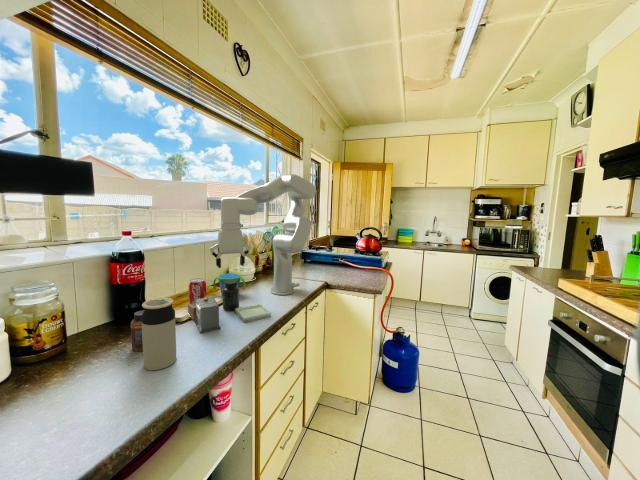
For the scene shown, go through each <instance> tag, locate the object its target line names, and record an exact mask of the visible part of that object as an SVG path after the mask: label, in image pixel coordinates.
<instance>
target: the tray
mask: <svg viewBox="0 0 640 480" xmlns="http://www.w3.org/2000/svg"><path fill="white" fill-rule="evenodd" d="M235 314H236V315H237V316H238V318H239V319H240V320H241V321H242V322H243V323H249V322H253V321H259V320H262V319H267V317H268V318H271V317H272V316H271V315H272V314H271V312H270V310H268V309H267V308H266V307H265V306H264V305H263V304H262V303H258V304H252V305H247V306H241V307H240V306H239V308H236V310H235Z"/></svg>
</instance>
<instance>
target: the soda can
mask: <svg viewBox="0 0 640 480" xmlns="http://www.w3.org/2000/svg"><path fill="white" fill-rule="evenodd" d="M205 297H207V282H206V280H205V279H204V278H201V277H199V278H192V279H190V280H189V284H188V305H189V304H193V303H196V299H201V298H205Z"/></svg>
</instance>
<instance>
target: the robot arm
mask: <svg viewBox="0 0 640 480" xmlns="http://www.w3.org/2000/svg"><path fill="white" fill-rule="evenodd" d="M316 192H317V190H316V186H315V185H314V183H312V182H311V181H309V180H307V179H306V178H303V177H302V176H300V175H297V174H281V175H278V176H277V177H275V178H273V179H271V180H270V181H268V182H266V183H265V184H262V185H260V186H256V187H255V188H251V189H248V190H247V191H244V192H242V193H240V194H239V195H236V196H235V197H227V196H225V197H222V198H221V200H220V225H221V226H220V227H221V228H220V229H219V230H218V235H217V243H216V244H214V245H212V246H210V247H209V248H208V251H209V252H210V253H211V255H212V256H213V257H214V258H215V265H216V267H217V268H219V269H221V268H222V259H221V257H222V256H223V255H230V254H240V255H239V265H240V266H242V267H244V266H245V263H246V262H245V261H246V256H247V254H249V252H250V250H251V248H252V246H251V245H249V244H246V243H244V239H243V238H244V237H243V232H242V229H241V228H243V227H244V224H243V223H241V215H243V216H254V215H255V214H257V212H258V211H259V208H260V207H259V206H260V204H265V203H270V202H273V201H274V200H276V199H278V198H279V197H280V196H281V197H282V195H284V194H285V193H287V195H288V198H289V203H290V205H289V208H288V212H287V214H286V216H285V218H284V221H283V223H282V229H283V230H284V231H285V232H279V233H277V234H275V236H274V237H273V239H272V249H273V258H274V259H273V261H274V262H273V287H272V288H270V293H271V294H273V295H276V296H277V295H278V296H286V295H291V294H294V292H295V288H296V287H297V288H299V287H300V282H293V281H292V280H293V279H292V277H293V276H292V275H293V257H292V254H300V253H301V252H302V251H303V250H304V248H305V245H306V243H307V241H308V238H309V235H310V233H311V230H312V221H311V219H310V218H309V217H308V216H305V213H306V208H305V204H304V201H303V200H312V199H313V198H314V197H315V196H316ZM244 247H245V250H244ZM216 249H217V250H216ZM215 250H216V251H217V253H216V252H215Z"/></svg>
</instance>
